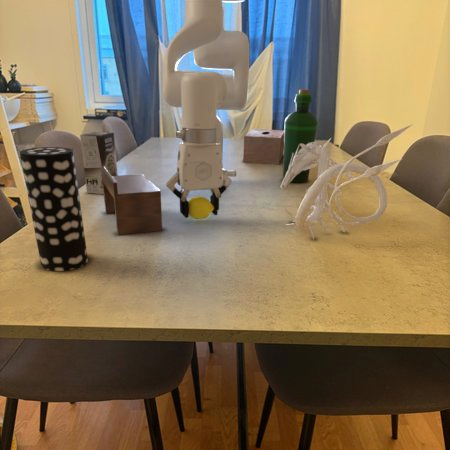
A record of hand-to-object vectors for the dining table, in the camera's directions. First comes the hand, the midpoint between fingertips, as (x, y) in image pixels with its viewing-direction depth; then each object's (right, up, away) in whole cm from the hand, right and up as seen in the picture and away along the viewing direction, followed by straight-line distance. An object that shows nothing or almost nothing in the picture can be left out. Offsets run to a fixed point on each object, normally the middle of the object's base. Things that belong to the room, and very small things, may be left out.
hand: (199, 214), depth 104 cm
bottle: (+30, +20, +43) cm, 56 cm away
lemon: (0, -1, +1) cm, 1 cm away
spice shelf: (-16, -2, 0) cm, 16 cm away
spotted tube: (-24, -14, -23) cm, 36 cm away
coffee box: (-30, +12, +25) cm, 41 cm away
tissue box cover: (+23, +40, +82) cm, 94 cm away
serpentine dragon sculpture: (+30, -5, -4) cm, 31 cm away
